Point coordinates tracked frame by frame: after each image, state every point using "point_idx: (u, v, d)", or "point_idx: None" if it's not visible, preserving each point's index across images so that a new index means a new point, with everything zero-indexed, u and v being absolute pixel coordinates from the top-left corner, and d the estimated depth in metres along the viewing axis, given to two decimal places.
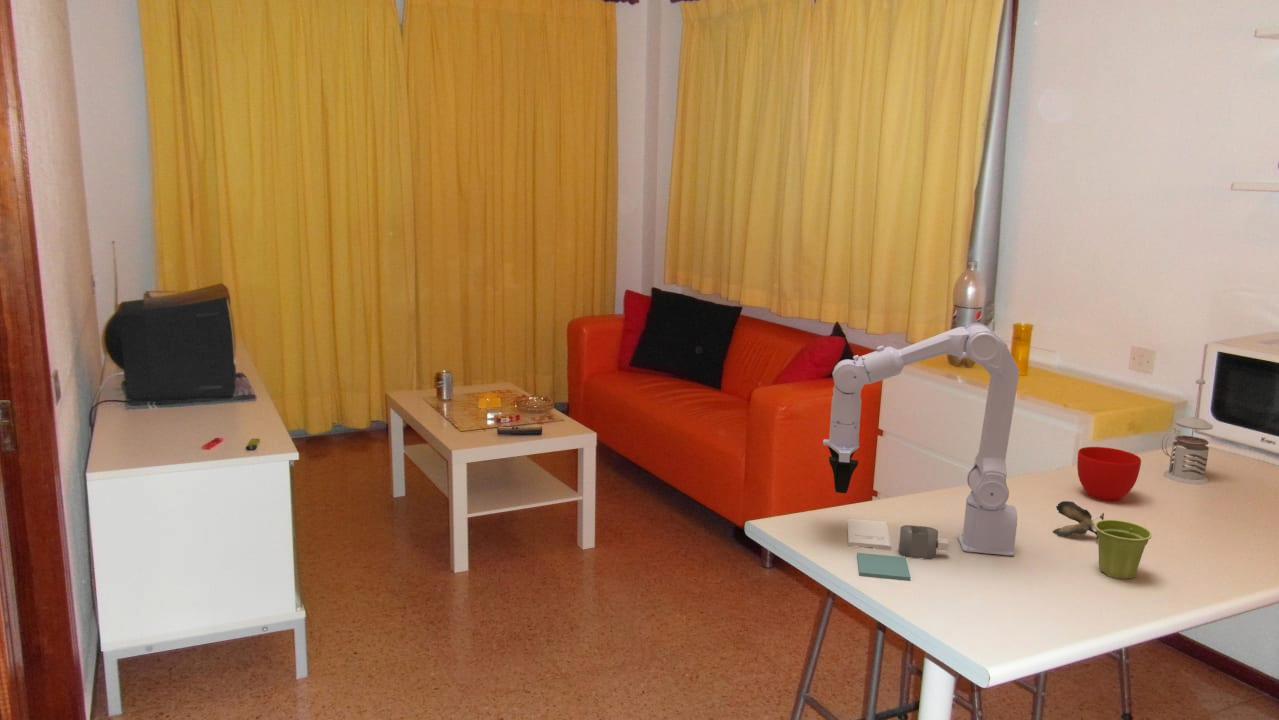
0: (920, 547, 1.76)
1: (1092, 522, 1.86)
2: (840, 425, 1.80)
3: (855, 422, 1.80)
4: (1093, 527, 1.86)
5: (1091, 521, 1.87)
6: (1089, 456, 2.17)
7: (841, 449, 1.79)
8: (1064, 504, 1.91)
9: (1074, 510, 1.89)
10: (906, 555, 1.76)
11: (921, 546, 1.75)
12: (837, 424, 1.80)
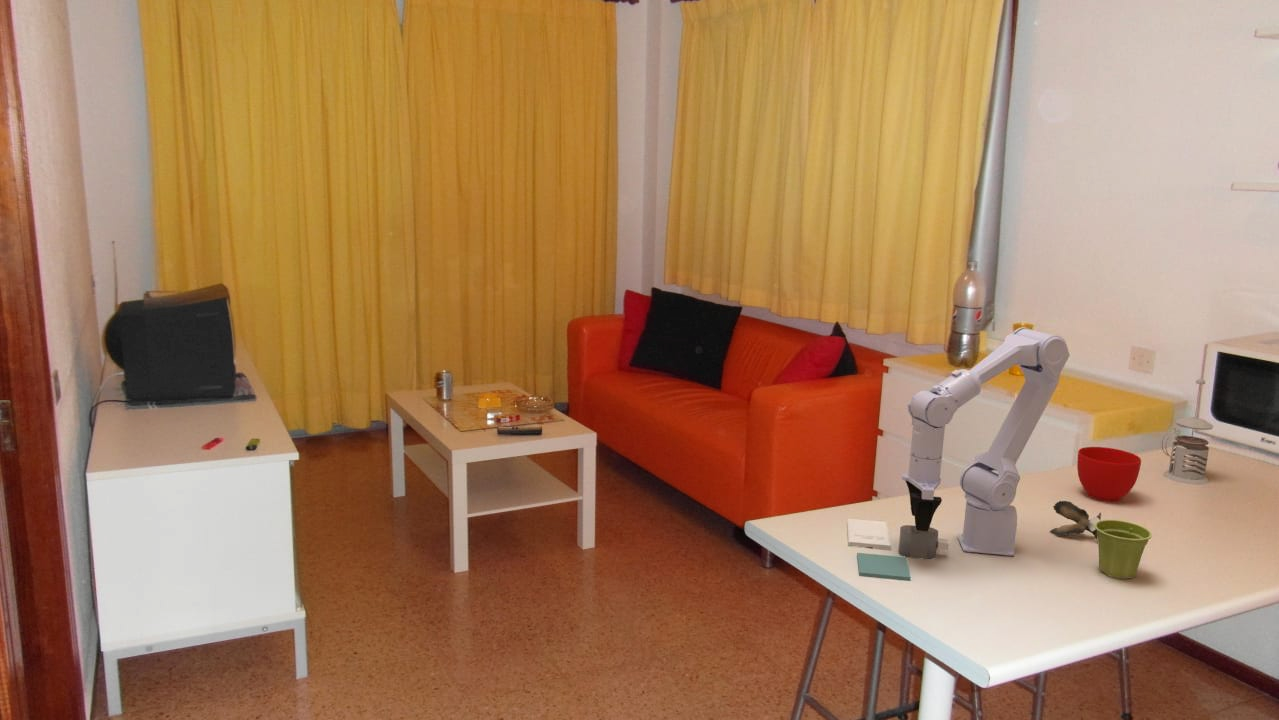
0: (920, 547, 1.76)
1: (1089, 522, 1.86)
2: (922, 460, 1.72)
3: (941, 455, 1.72)
4: (1090, 527, 1.86)
5: (1088, 521, 1.87)
6: (1089, 456, 2.17)
7: (923, 485, 1.70)
8: (1061, 504, 1.91)
9: (1071, 510, 1.89)
10: (906, 555, 1.76)
11: (921, 546, 1.75)
12: (918, 459, 1.72)
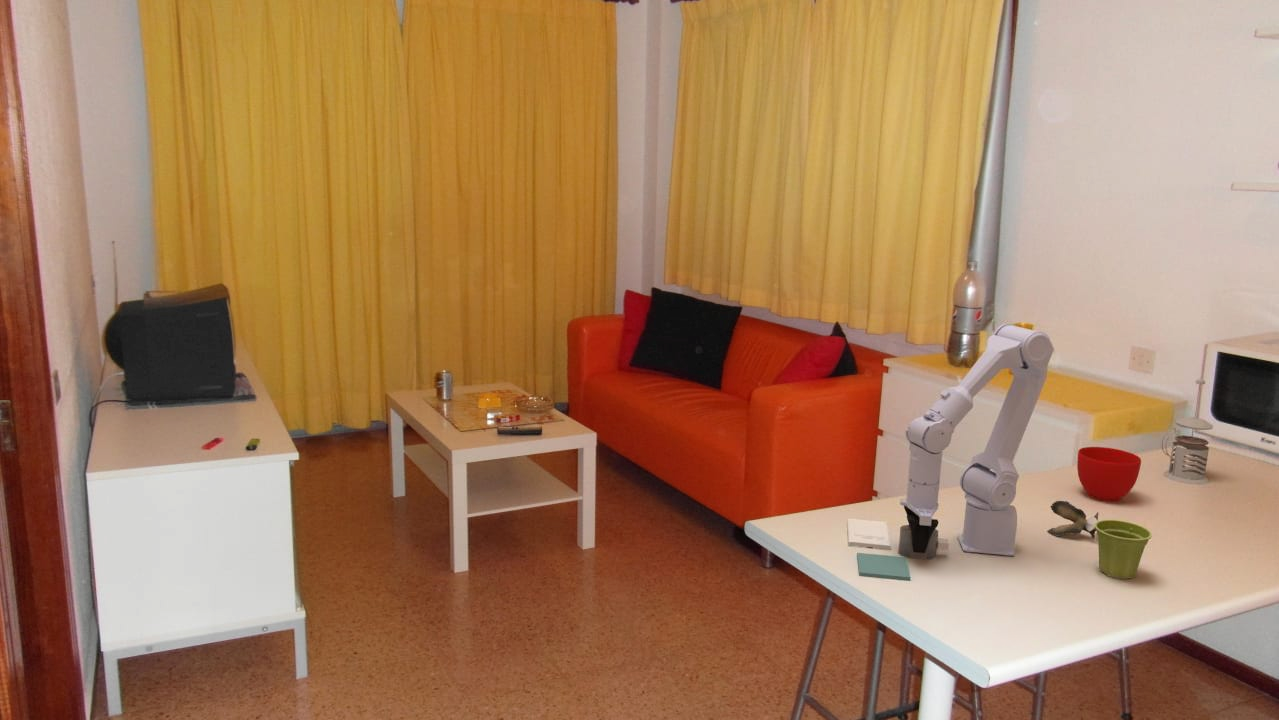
0: None
1: (1086, 521, 1.86)
2: (919, 485, 1.73)
3: (939, 481, 1.73)
4: (1087, 527, 1.86)
5: (1085, 521, 1.87)
6: (1089, 456, 2.17)
7: (921, 511, 1.71)
8: (1058, 504, 1.91)
9: (1068, 510, 1.89)
10: (906, 555, 1.76)
11: None
12: (916, 484, 1.73)
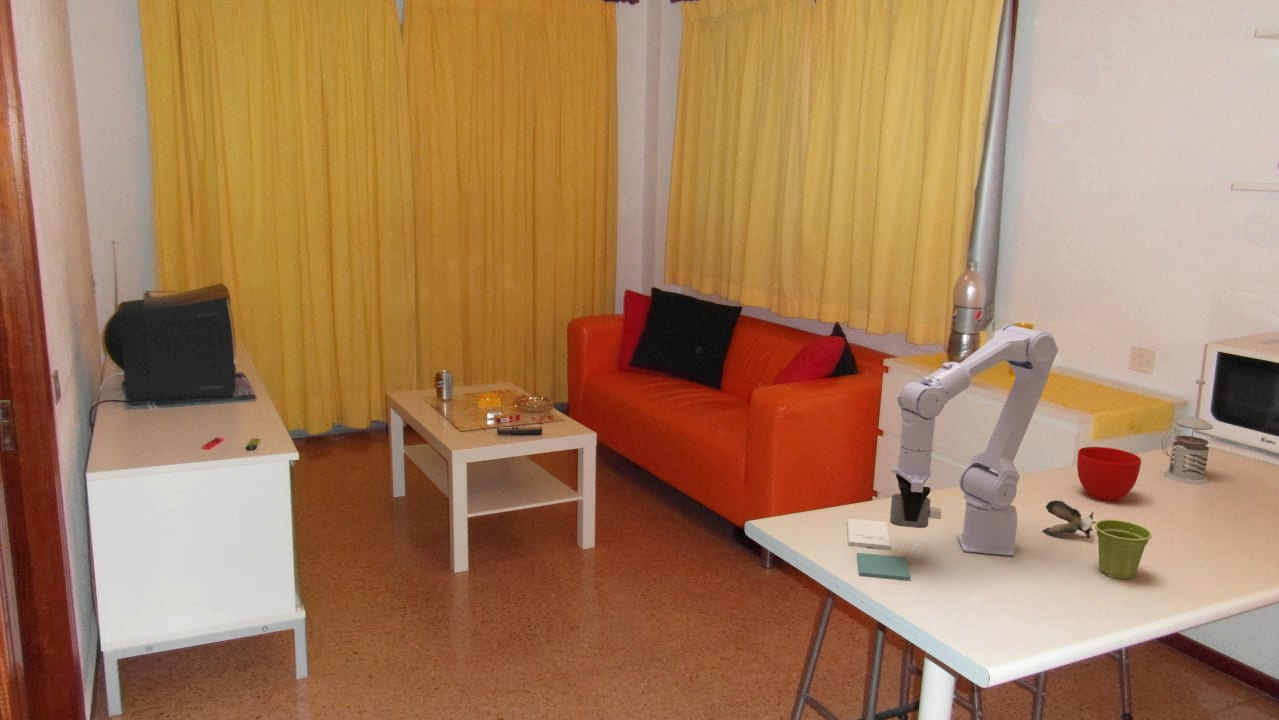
0: None
1: (1081, 521, 1.86)
2: (911, 452, 1.69)
3: (931, 447, 1.70)
4: (1083, 526, 1.86)
5: (1080, 520, 1.87)
6: (1089, 456, 2.17)
7: (913, 478, 1.68)
8: (1054, 503, 1.91)
9: (1064, 509, 1.89)
10: (897, 524, 1.73)
11: None
12: (908, 451, 1.69)
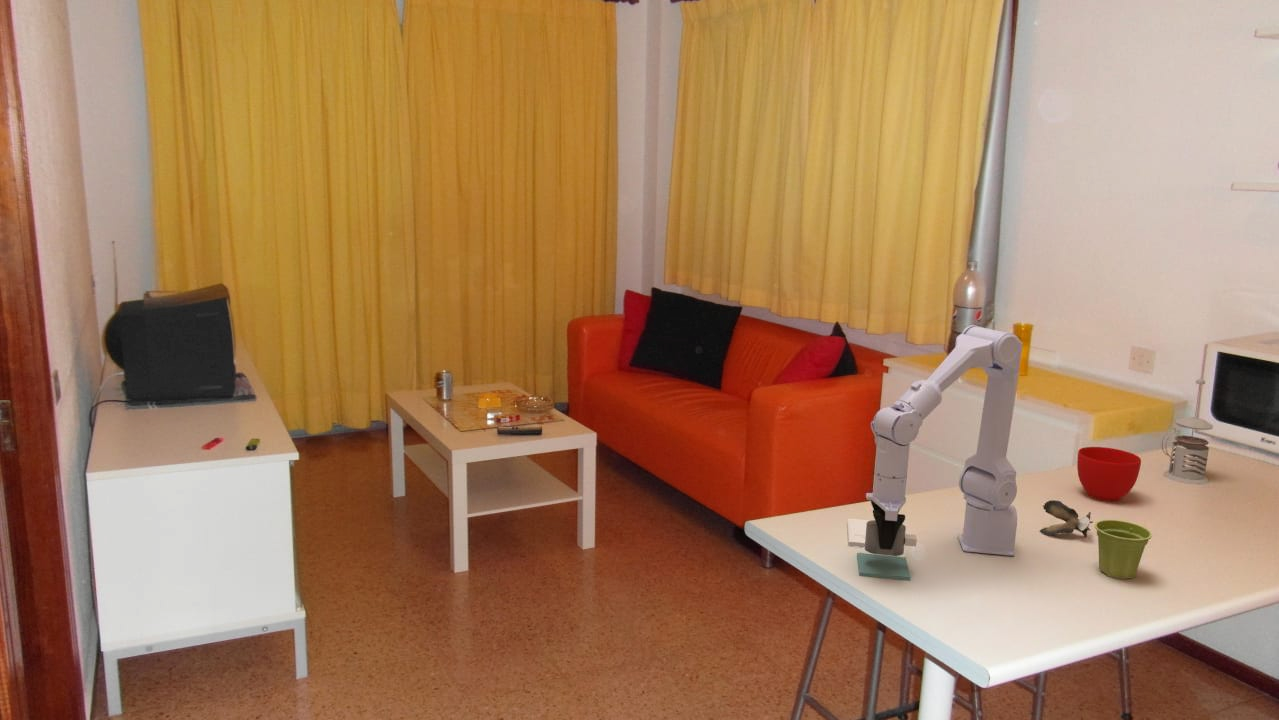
0: None
1: (1079, 521, 1.86)
2: (886, 479, 1.65)
3: (906, 473, 1.67)
4: (1080, 526, 1.86)
5: (1078, 520, 1.87)
6: (1089, 456, 2.17)
7: (887, 506, 1.64)
8: (1051, 503, 1.91)
9: (1061, 509, 1.89)
10: (872, 551, 1.69)
11: None
12: (882, 478, 1.66)
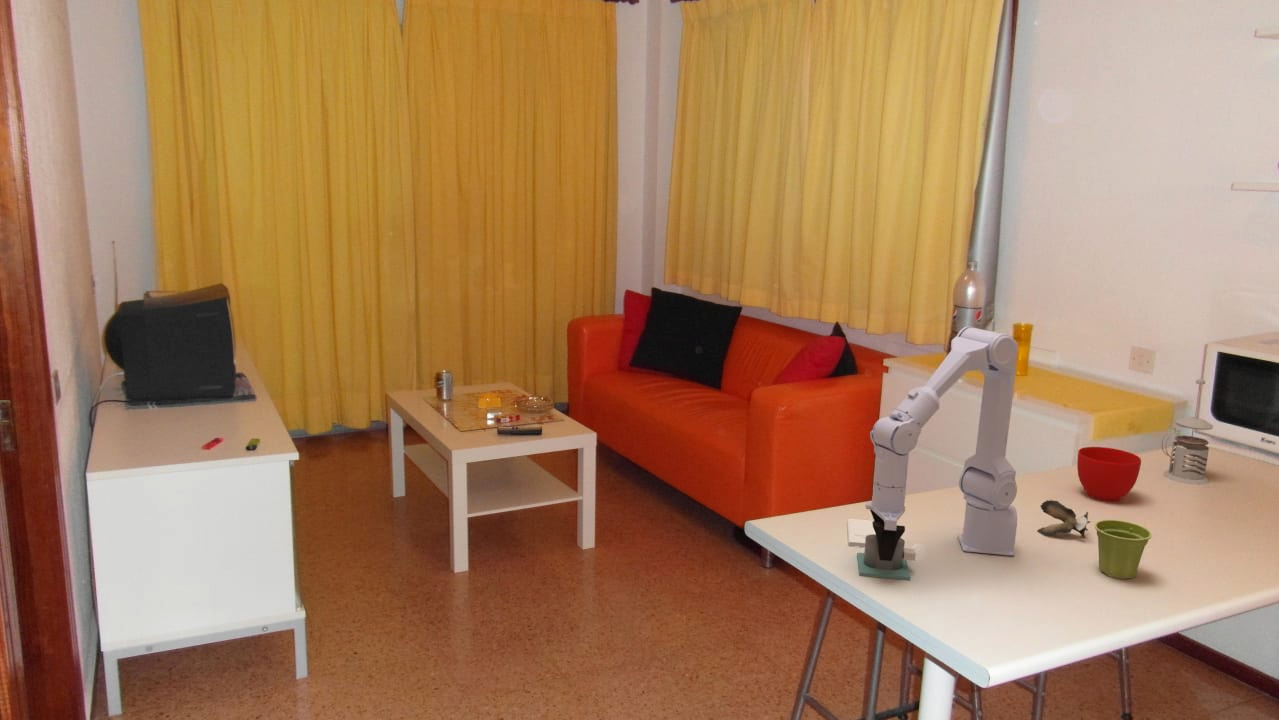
0: None
1: (1076, 521, 1.86)
2: (885, 488, 1.66)
3: None
4: (1077, 526, 1.86)
5: (1075, 520, 1.87)
6: (1089, 456, 2.17)
7: (886, 515, 1.65)
8: (1048, 503, 1.91)
9: (1058, 509, 1.89)
10: (871, 566, 1.70)
11: None
12: (882, 487, 1.66)
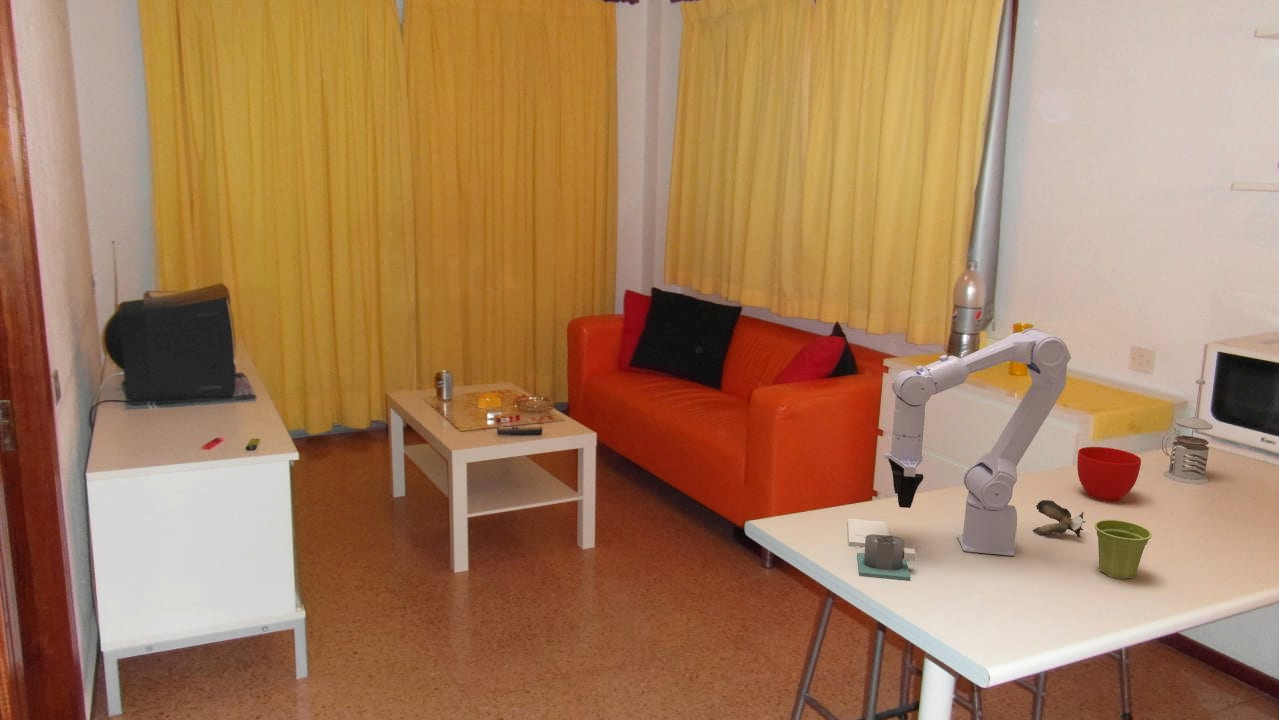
0: (886, 557, 1.69)
1: (1071, 521, 1.87)
2: (904, 438, 1.75)
3: (921, 434, 1.75)
4: (1073, 526, 1.86)
5: (1071, 520, 1.87)
6: (1089, 456, 2.17)
7: (905, 463, 1.74)
8: (1044, 503, 1.91)
9: (1054, 509, 1.89)
10: (871, 566, 1.70)
11: (886, 556, 1.69)
12: (900, 437, 1.75)
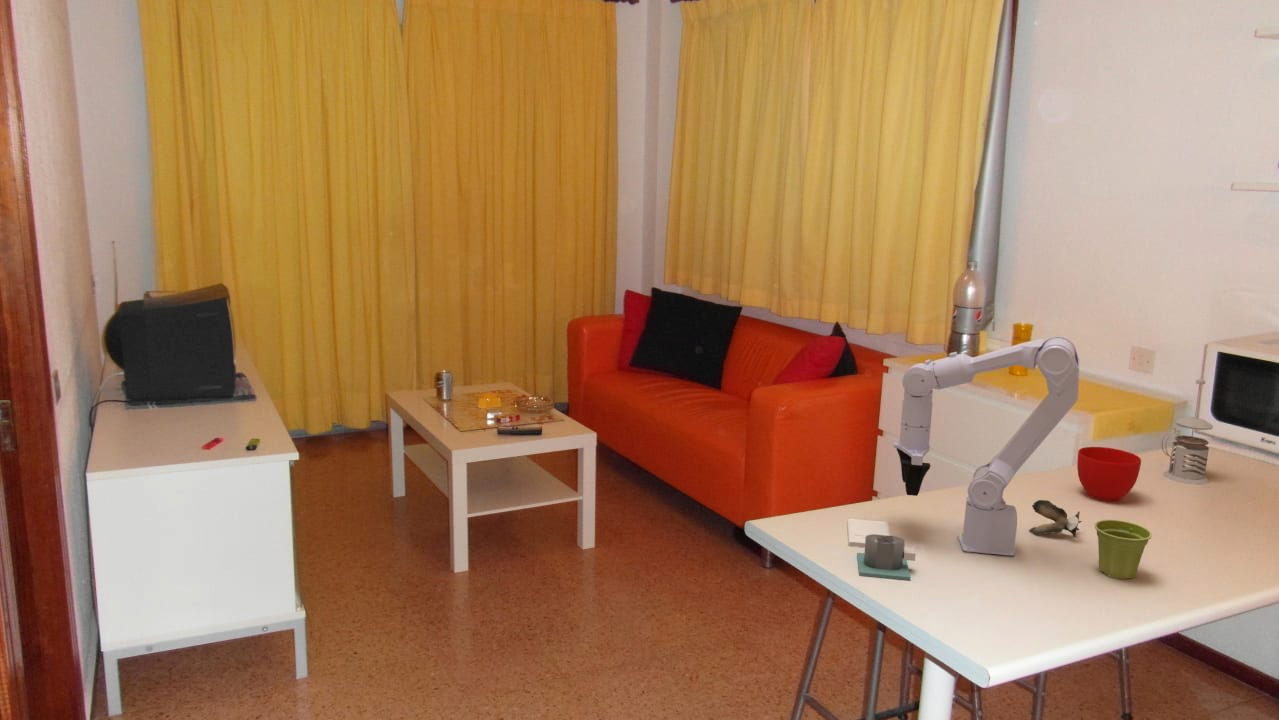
0: (886, 557, 1.69)
1: (1067, 521, 1.87)
2: (912, 428, 1.82)
3: (923, 425, 1.81)
4: (1069, 526, 1.86)
5: (1067, 520, 1.87)
6: (1089, 456, 2.17)
7: (913, 452, 1.81)
8: (1040, 503, 1.91)
9: (1050, 509, 1.89)
10: (871, 566, 1.70)
11: (886, 556, 1.69)
12: (908, 427, 1.82)
